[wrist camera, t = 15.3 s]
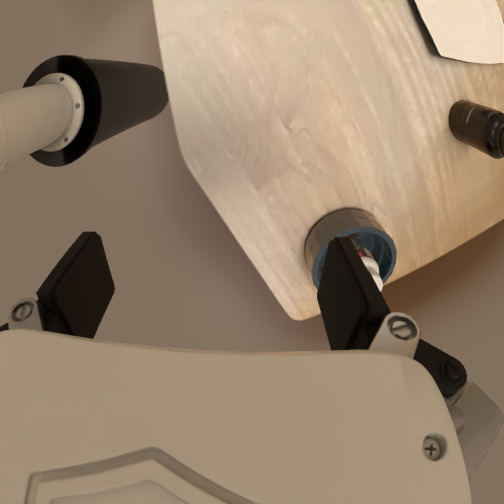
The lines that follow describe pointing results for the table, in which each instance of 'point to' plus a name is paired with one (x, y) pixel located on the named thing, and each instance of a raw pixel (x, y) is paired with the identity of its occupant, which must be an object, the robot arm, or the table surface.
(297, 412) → the robot arm
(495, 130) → the supplement bottle
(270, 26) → the table surface
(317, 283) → the blue bowl
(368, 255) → the pill bottle
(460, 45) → the plate
